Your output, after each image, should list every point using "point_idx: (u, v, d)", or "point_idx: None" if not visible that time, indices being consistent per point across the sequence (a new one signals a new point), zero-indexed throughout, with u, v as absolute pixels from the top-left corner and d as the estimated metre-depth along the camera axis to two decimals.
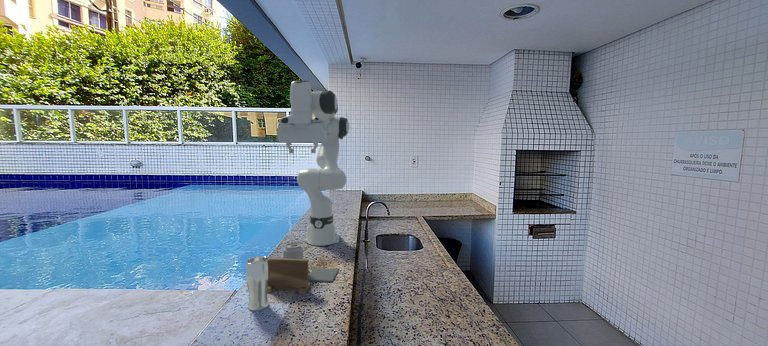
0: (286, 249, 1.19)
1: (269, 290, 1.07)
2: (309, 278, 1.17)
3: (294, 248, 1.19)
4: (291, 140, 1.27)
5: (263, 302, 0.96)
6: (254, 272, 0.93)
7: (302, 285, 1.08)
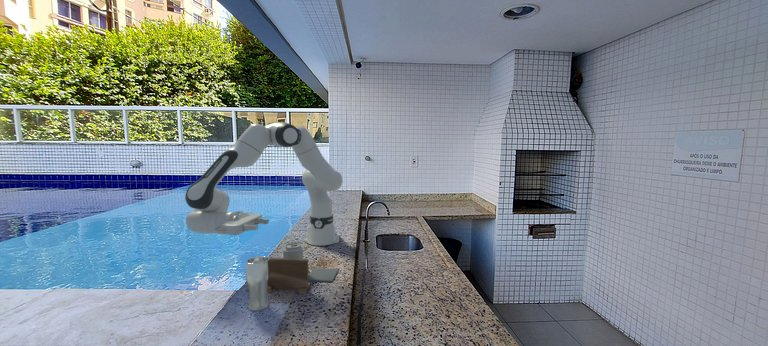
0: (286, 249, 1.19)
1: (269, 290, 1.07)
2: (309, 278, 1.17)
3: (294, 248, 1.19)
4: None
5: (263, 302, 0.96)
6: (254, 272, 0.93)
7: (302, 285, 1.08)
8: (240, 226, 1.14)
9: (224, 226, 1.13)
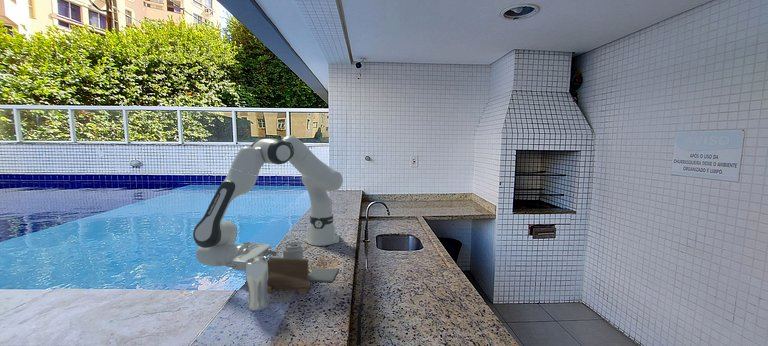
0: (286, 249, 1.19)
1: (269, 290, 1.07)
2: (309, 278, 1.17)
3: (294, 248, 1.19)
4: None
5: (263, 302, 0.96)
6: (254, 272, 0.93)
7: (302, 285, 1.08)
8: None
9: (235, 262, 1.14)
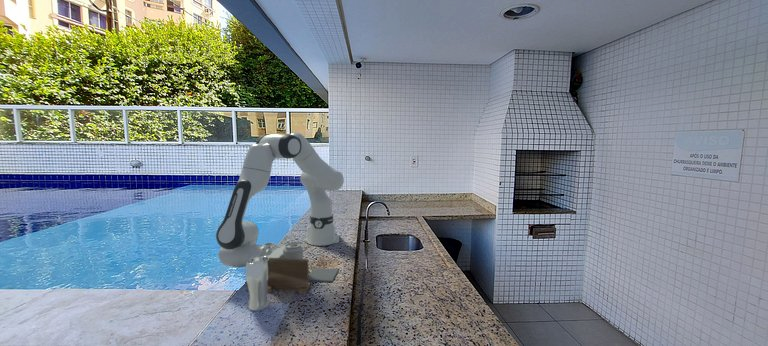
0: (286, 249, 1.19)
1: (269, 290, 1.07)
2: (309, 278, 1.17)
3: (294, 248, 1.19)
4: None
5: (263, 302, 0.96)
6: (254, 272, 0.93)
7: (302, 285, 1.08)
8: None
9: None
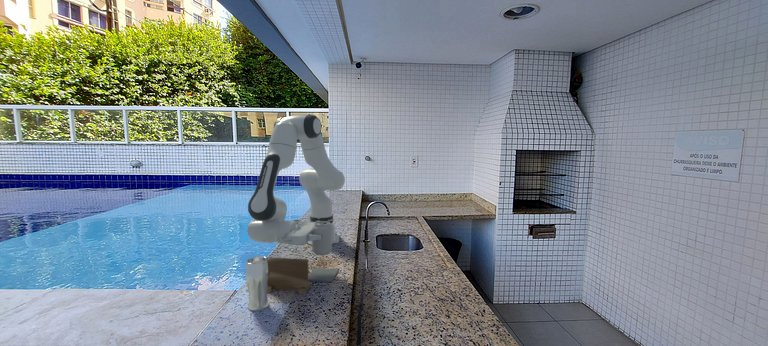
0: (316, 226, 1.17)
1: (269, 290, 1.07)
2: (309, 278, 1.17)
3: (324, 225, 1.17)
4: None
5: (263, 302, 0.96)
6: (254, 272, 0.93)
7: (302, 285, 1.08)
8: (306, 236, 1.12)
9: (290, 236, 1.11)
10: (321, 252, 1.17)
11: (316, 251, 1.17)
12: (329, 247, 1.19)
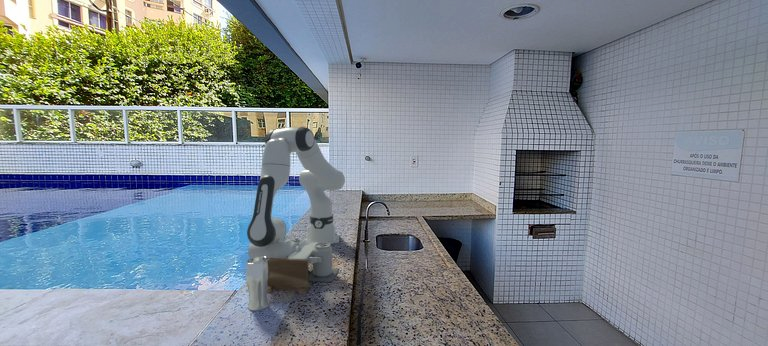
0: (316, 249, 1.18)
1: (269, 290, 1.07)
2: (309, 278, 1.17)
3: (324, 248, 1.18)
4: None
5: (263, 302, 0.96)
6: (254, 272, 0.93)
7: (302, 285, 1.08)
8: None
9: None
10: (321, 274, 1.18)
11: (316, 273, 1.18)
12: (329, 269, 1.19)
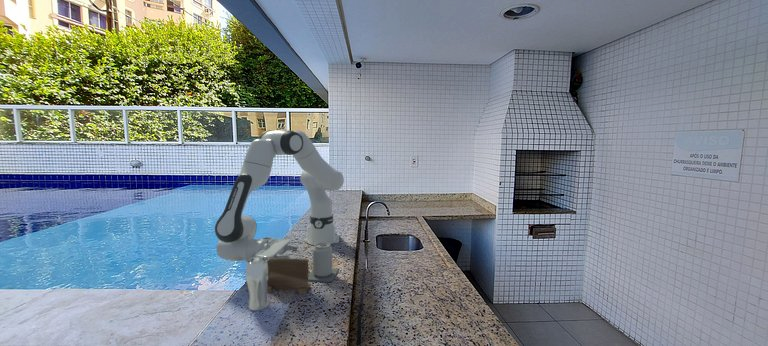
0: (316, 249, 1.18)
1: (269, 290, 1.07)
2: (309, 278, 1.17)
3: (324, 248, 1.18)
4: None
5: (263, 302, 0.96)
6: (254, 272, 0.93)
7: (302, 285, 1.08)
8: (273, 256, 1.14)
9: None
10: (321, 274, 1.18)
11: (316, 273, 1.18)
12: (329, 269, 1.19)
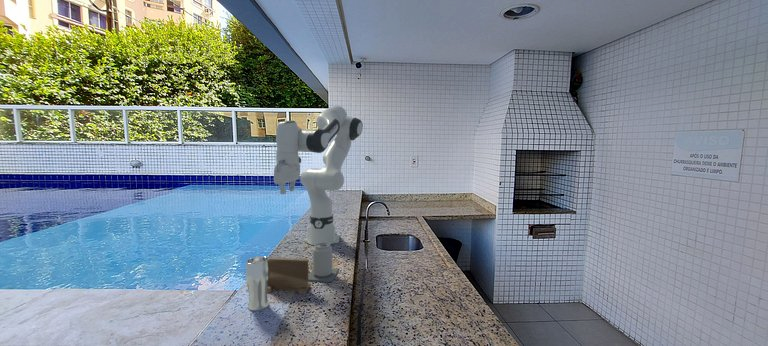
0: (316, 249, 1.18)
1: (269, 290, 1.07)
2: (309, 278, 1.17)
3: (324, 248, 1.18)
4: None
5: (263, 302, 0.96)
6: (254, 272, 0.93)
7: (302, 285, 1.08)
8: (282, 183, 1.22)
9: (281, 170, 1.20)
10: (321, 274, 1.18)
11: (316, 273, 1.18)
12: (329, 269, 1.19)
